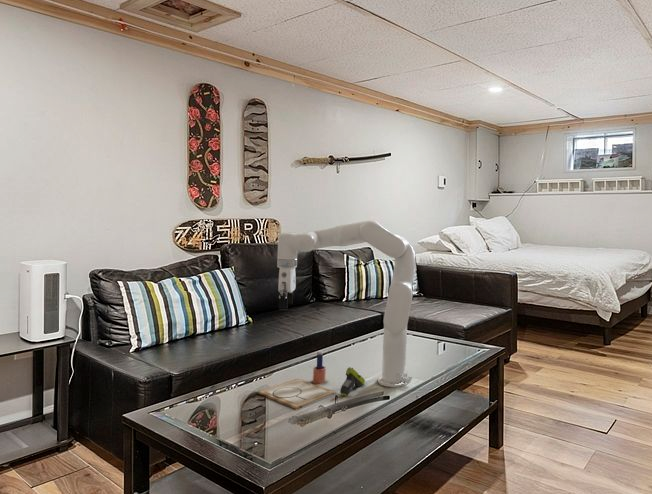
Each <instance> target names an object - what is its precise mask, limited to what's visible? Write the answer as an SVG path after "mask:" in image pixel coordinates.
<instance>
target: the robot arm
mask: <svg viewBox="0 0 652 494" xmlns="http://www.w3.org/2000/svg"><path fill="white" fill-rule="evenodd" d="M363 243H365V244H366V243H367V244H368V245H370V246H371V247H373V248H375V249H376V250H378V251H379V252H381V253H382V254H384V255H386V256H388V257H389V258H392V259H394V265H393V272H392V278H391V282H390V285H389V288H388V292H387V299H386V305H385V310H384V314H383V320H382V321H383V322H382V323H383V339H382V361H381V362H382V364H381V366H382V367H381V375H380V376H379V377H378V378H377V382H378V384H379V385H380V386H383V387H387V388H398V387H399V388H401V387H404V386H407V385H408V384H410V383H411V381H412V380H413V376H409V373H408V371H407V370H406V369H407V368H406V367H407V344H408V343H407V342H408V323H409V318H410V313H411V307H412V303H413V294H414V293H413V282H414V277H415V272H416V271H415V269H416V254H415V250H414V248H413V246H412V245H411V243H410V242H409V241H408V240H407V239H406V238H404V237H403V236H402V235H398V234H395V233H393V232H391V231H390V230H388V229H386V228H385V227H383V226H382V225H381V224H380V222H379V221H378V220H377V221H376V220H375V219H374V220H373V219H369V220H365V221H358V222H353V223H348V224H341V225H337V226H335V227H331V228H324V229H320V230H319V229H318V230H313V231H308V232H303V233H296V232H288V231H287V232H280V233H279V234H278V236H277V260H276V261H277V264H276V266H277V268H279V272H278V289H277V290H278V292H279V295H278V309H279V310H287V309H288V305H293V302H294V291H295V290H296V287H297V286H296V285H297V282H296V279H297V277H296V275H297V274H296V268H297V267H298V252H301V253H309V252H312V251H314V250H318V249H319V250H320V249H324V248H330V247H348V246H353V245H358V244H363ZM401 382H403V383H404V384H401V385H395V384H399V383H401Z"/></svg>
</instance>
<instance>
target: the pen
mask: <svg viewBox="0 0 652 494" xmlns="http://www.w3.org/2000/svg"><path fill="white" fill-rule="evenodd" d="M323 358H324V350H317V351H316V366H317V369H322V366H323V364H324V362H323V361H324V359H323Z"/></svg>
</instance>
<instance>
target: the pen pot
mask: <svg viewBox="0 0 652 494" xmlns="http://www.w3.org/2000/svg"><path fill="white" fill-rule="evenodd" d="M326 373H327V367H326V366H325V365H322V369H317V365H315V366H313V368H312V383H313V384H324V383H325V382H326Z"/></svg>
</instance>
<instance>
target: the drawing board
mask: <svg viewBox="0 0 652 494" xmlns="http://www.w3.org/2000/svg"><path fill="white" fill-rule="evenodd" d="M258 394H259V395H261V396H264V397H266V398H268V399H271V400H273V401H275V402H277V403H280V404H282V405H285V406H287V407H290V408H293V409H294V410H297V409H301V408H303V406H305V405H308V404H309V403H312V402H316V401H318V400H320V399H323V398H325V397H328V396H331V395H333V394H336V391H334V390H331V389H328V388H325V387H322V386H319V385H318V384H315V383H311V382H308V381H306V380H303V379H300V378H296V379H293V380H290V381H287V382H284V383H280V384H278V385H277V384H276V385H274V386H271V387H268V388H265V389H262V390H259V391H258Z"/></svg>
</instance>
